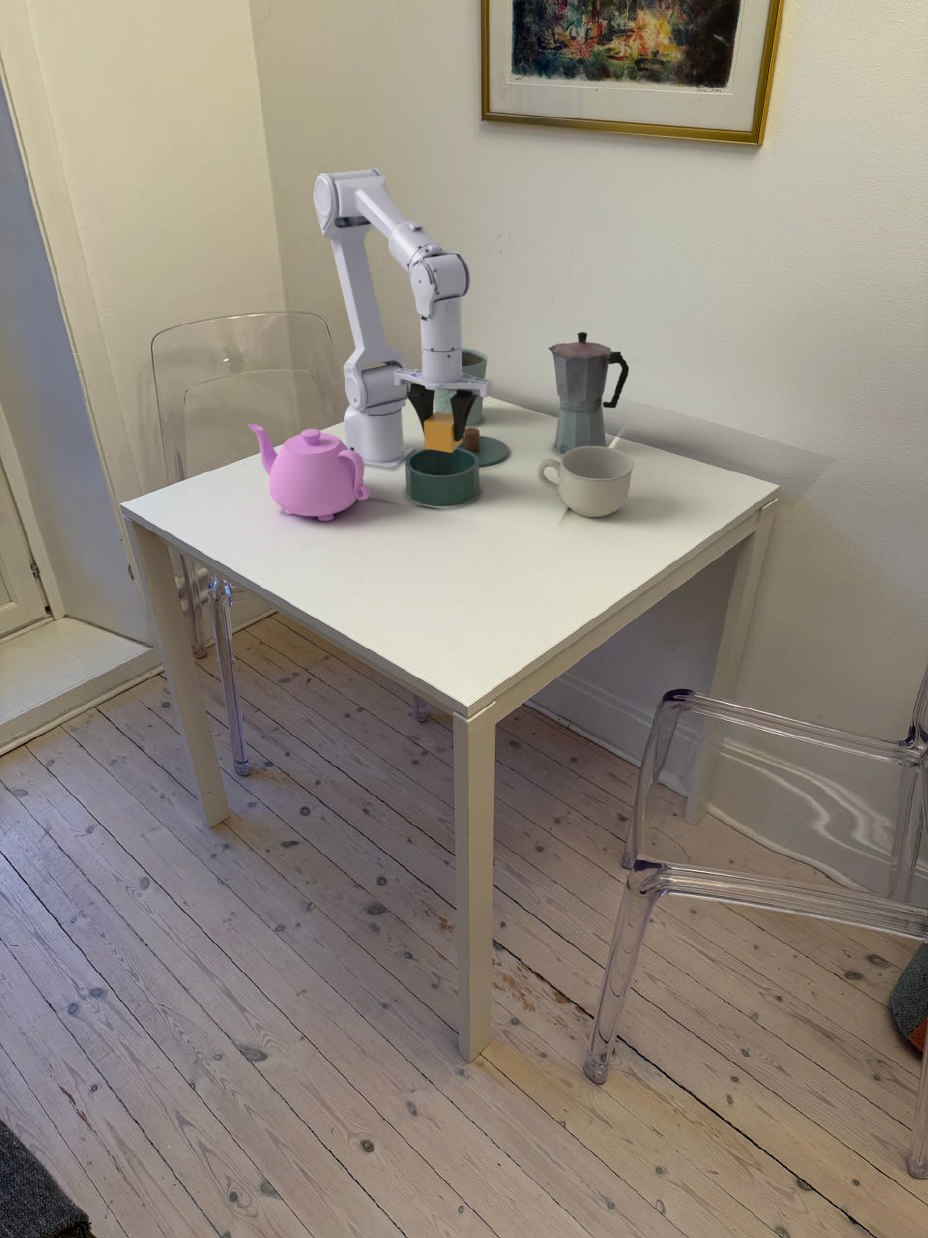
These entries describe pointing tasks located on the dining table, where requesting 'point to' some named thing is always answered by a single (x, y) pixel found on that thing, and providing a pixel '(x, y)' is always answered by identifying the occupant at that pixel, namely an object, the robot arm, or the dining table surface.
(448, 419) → the block
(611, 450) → the teacup
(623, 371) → the moka pot
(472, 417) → the green embossed cup
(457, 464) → the pot
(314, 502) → the teapot
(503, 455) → the lid
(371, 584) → the dining table surface
